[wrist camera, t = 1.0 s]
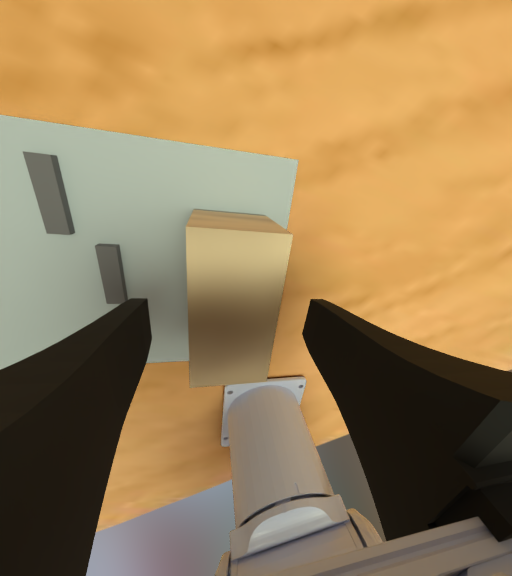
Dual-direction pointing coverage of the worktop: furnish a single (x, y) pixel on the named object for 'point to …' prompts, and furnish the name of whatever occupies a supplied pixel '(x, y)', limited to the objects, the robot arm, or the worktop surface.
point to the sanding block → (233, 294)
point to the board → (115, 227)
